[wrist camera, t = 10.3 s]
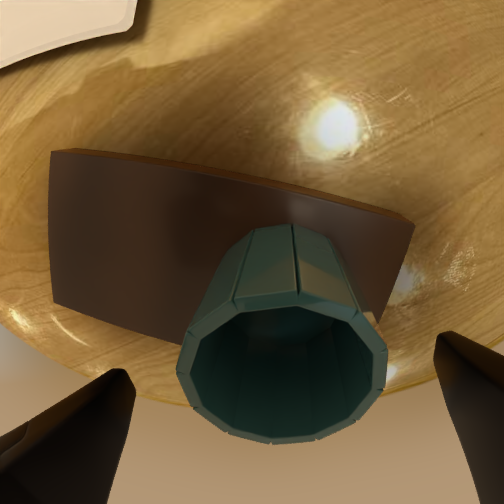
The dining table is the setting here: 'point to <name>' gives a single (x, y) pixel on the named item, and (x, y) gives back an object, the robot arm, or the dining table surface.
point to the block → (188, 235)
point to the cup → (283, 341)
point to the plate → (57, 24)
